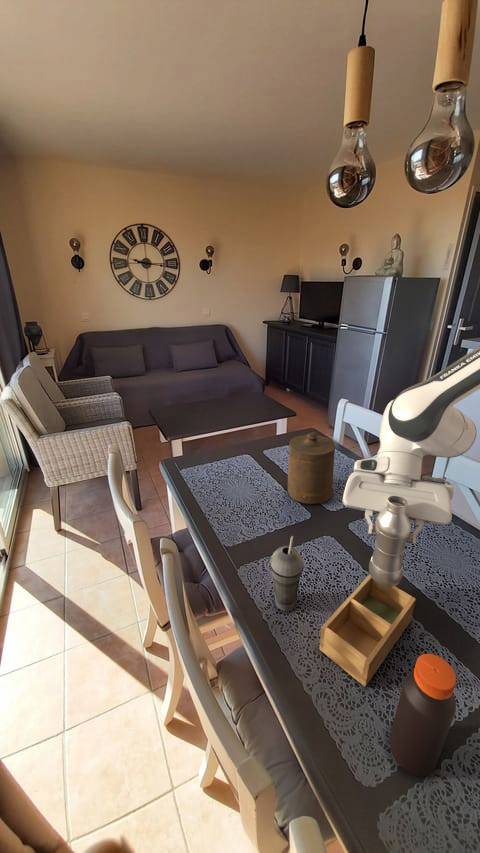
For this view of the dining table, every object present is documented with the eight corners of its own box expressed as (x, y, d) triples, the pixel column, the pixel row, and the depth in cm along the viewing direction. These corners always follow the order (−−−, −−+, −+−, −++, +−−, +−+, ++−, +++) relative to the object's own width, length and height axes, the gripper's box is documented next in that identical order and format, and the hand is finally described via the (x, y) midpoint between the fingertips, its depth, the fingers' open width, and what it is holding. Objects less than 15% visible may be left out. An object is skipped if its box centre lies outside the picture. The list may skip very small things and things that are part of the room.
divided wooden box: (410, 620, 78) (416, 598, 75) (365, 687, 66) (369, 664, 63) (367, 593, 85) (371, 572, 82) (319, 649, 73) (321, 626, 70)
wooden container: (317, 476, 132) (321, 421, 123) (340, 498, 119) (346, 439, 110) (280, 484, 128) (281, 428, 119) (299, 508, 115) (302, 447, 106)
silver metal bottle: (391, 597, 72) (407, 516, 64) (361, 578, 77) (372, 500, 69) (406, 580, 76) (423, 501, 68) (377, 562, 81) (389, 487, 72)
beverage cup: (283, 584, 88) (285, 518, 80) (307, 602, 83) (312, 533, 75) (263, 602, 83) (263, 534, 75) (288, 622, 78) (290, 551, 70)
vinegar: (389, 766, 56) (410, 686, 47) (389, 719, 61) (408, 640, 53) (438, 786, 53) (469, 706, 45) (433, 735, 59) (460, 655, 51)
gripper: (450, 483, 75) (446, 552, 70) (348, 467, 82) (339, 529, 77) (458, 476, 69) (454, 550, 65) (347, 460, 76) (338, 525, 72)
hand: (390, 538), depth 71 cm, fingers closed on silver metal bottle, 6 cm apart
